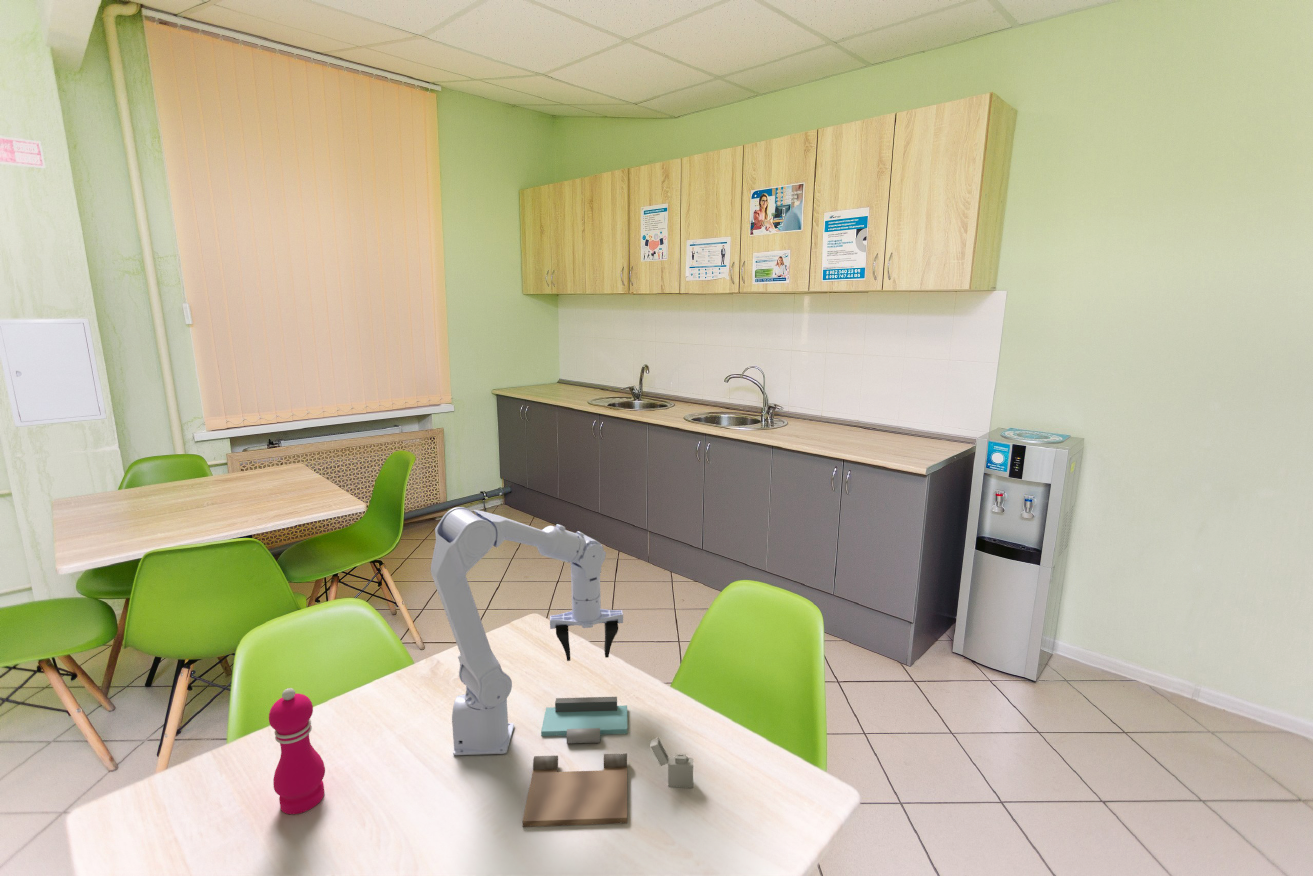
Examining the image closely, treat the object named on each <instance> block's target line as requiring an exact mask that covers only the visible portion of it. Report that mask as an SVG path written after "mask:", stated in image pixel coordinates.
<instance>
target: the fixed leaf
mask: <svg viewBox="0 0 1313 876" xmlns="http://www.w3.org/2000/svg"><path fill="white" fill-rule="evenodd" d="M532 761H533V762H532V774H531V778H530V783H529V788H528V793H527V798H526V802H525V808H524V812H523V817H522V820H521V821H522V828H526V827H529V828H530V827H531V828H532V827H553V826H554V827H556V826H559V827H560V826H561V827H562V826H582V825H583V826H584V825H585V826H586V825H613V824H615V825H616V824H627V823H628V753H625V752H624V753H623V752H622V753H604V754H603V770H581V771H579V770H578V771H577V770H575V771H558V770H559V769H558V768H559V755H537V756H536V755H534V756H533V760H532Z"/></svg>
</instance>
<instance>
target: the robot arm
mask: <svg viewBox="0 0 1313 876" xmlns="http://www.w3.org/2000/svg"><path fill="white" fill-rule="evenodd" d="M473 511H474V512H473ZM473 511H471V510H470V509H468V508H466V507H463V506H458V507H457V506H456V507H453V508H451V509H449V510H448V511H447V512H445V514H443V516H442V517H441V519H440V521H439V522H438V523H437V525H436V527H435V528H434V532H435V542H434V543H435V544H434V549H433V554H432V558H431V563H430V564H431V565H430V575H431V577H432V580H433V582H434V586H435V589H436V591H437V594H438V596H439V598H440V601H441V604H442V607H443V611H444V612H445V616H446V619H447V621H448V624H449V627H450V629H451V632H452V635H453V637H454V640H455V643H456V645H457V649H458V651H459V655H458V657H457V659H458V662H459V671H458V677H459V679H460V682H461V683H463V685H465V689H466V691H465V694H461V695H457V696H456V697H455V700H454V701H453V702H454V703H453V707H452V713H451V724H452V738H453V739H452V740H453V752H452V754H453V756H468V755H470V756H471V755H472V756H473V755H500V754H501V755H505V754H507V753H508V750H509V746H510V741H511V739H512V736H513V731H514V727H515V723H514V722H509V716H508V715H509V714H508V697H509V696H510V693H511V691H512V688H513V681H512V678H511V676H510V675H509V674H507V673H506V672H504V671H503V669H502V666H501V663H500V662H499V661H498V659H497V656H496V655H495V654H494V652H493V650H492V649H491V645H490V643H489V640H488V637H487V634H486V631H485V627H484V624H483V623H482V618H481V616H480V614H479V611H478V608H477V604H476V602H475V599H474V596H473V592H472V591H471V588H470V584H469V582H468V579H467V573H468V572H469V571H470V570H471V569H472V568H473V567H474V566H476V565H477V564H478V563H479V561H481V560H482V558H484V556H486V555H487V554H488V553H489V551H490V550H491V549H492V548H493V547H495V548H499V547H500V546H501V545H502V544H503V543H504V542H505V541H508V542H512V543H513V542H514V543H518V544H522V545H527V546H531V547H535V548H536V549H537V551H538V553H539V555H540V556H541V557H547V558H550V559H554V560H558V561H562V562H565V563H570V583H571V585H570V586H571V610H570V611H566V612H563V613H557V614H553V615H552V614H551V615H549V628H550V629H549V630H555V635H556V637H557V639H558V641H559V642H560V644H561V647H562V648H563V650H564V653H565V656H566V661H567V662H571V646H570V640H569V639H570V633H569V631H570V630H569V627H571V626H579V627H580V626H581V627H582V628H583V629H588V628H593V627H594V626H595V625H597V624H604V644H603V645H604V647H603V648H604V658H606V659H607V658H609V657H610V652H611V647H612V644H613V641H614V640H615V637H616V636H617V634H618V632H619V624H623V623H624V613H623V609H605V608H601V607H602V605H601V600H602V599H601V596H602V595H601V573H602V566H603V563H604V562H605V560H606V555H607V552H606V551H605V550H604V546H603V545H602V543H601V542H599V541H598V540H596V539H594V538H592V537H590V536H588V535H586V534H584V533H583V532H581V531H576V532H573V531H569V530H567V529H566V526H563V525H562V524H558V523H557V524H556V525H555V526H554V525H548V526H545V527H544V528H543V529H539V528H537V527H533V526H531V525H528V524H525V523H522V522H519V521H516V520H515V519H514V520H513V519H510V518H507V517H505V516H502V515H498V514H494V513H491V512H487V511H483V510H479V509H478V510H477V509H473Z"/></svg>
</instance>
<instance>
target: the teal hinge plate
mask: <svg viewBox="0 0 1313 876" xmlns="http://www.w3.org/2000/svg"><path fill="white" fill-rule="evenodd" d="M540 734H541V735H540V737H554V736H555V737H556V736H557V737H558V736H562V737H563V736H566V744H589V743H592V744H594V743H596V744H597V743H601V735H621V734H623V735H624V734H628V705H618V696H595V697H594V696H591V697H589V696H588V697H587V696H586V697H557V698H555V702H554V707H545V711H544V717H543V720H542V726H541V731H540Z"/></svg>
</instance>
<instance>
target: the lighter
mask: <svg viewBox="0 0 1313 876" xmlns="http://www.w3.org/2000/svg"><path fill="white" fill-rule="evenodd" d="M650 749H651V751H652V753H653V754H654V757H655V758H656V760H657V762H658V764H659V766H660V767H663V766H666V765H667V766H668V767H667V770H668V771H667V778H668V779H667V784H668V785H667V786H668V788H682V789H683V788H684V789H685V788H686V789H692V788H694V758H693V757H689V756H687V754H686V753H675V754H674V756H670V757H669V755H668V752H667V751H666V748H665V747H664V745H663V743H662V742H661V740H660V738H659V737H655V738H653V739H651V740H650Z"/></svg>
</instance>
